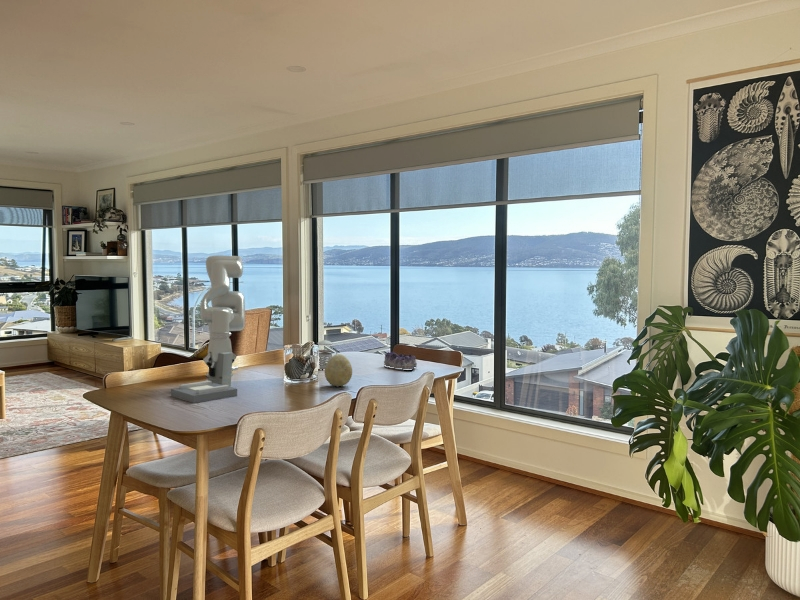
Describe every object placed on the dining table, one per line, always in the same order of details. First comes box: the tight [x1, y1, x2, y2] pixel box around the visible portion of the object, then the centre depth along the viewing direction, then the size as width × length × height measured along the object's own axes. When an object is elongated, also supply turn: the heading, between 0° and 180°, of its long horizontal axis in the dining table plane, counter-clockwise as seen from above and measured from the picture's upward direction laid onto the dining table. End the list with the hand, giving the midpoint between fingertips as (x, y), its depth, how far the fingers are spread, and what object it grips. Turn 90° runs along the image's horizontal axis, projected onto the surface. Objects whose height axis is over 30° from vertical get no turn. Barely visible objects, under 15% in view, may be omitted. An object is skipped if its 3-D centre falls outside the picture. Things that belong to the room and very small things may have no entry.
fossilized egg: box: [324, 353, 353, 387], centre depth 284 cm, size 13×13×15 cm
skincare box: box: [207, 351, 234, 387], centre depth 278 cm, size 8×7×16 cm
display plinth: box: [170, 380, 238, 404], centre depth 258 cm, size 20×18×4 cm
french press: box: [317, 321, 338, 369], centre depth 331 cm, size 10×12×25 cm
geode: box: [383, 350, 418, 370], centre depth 337 cm, size 20×12×10 cm, turn 58°
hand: (220, 374), depth 278 cm, fingers closed on skincare box, 7 cm apart
